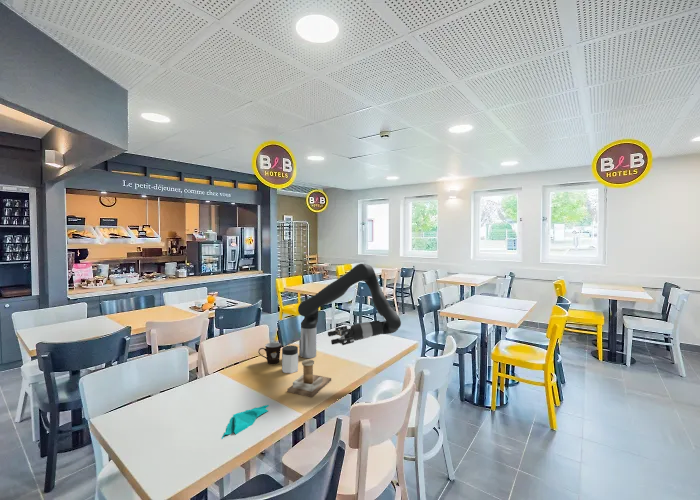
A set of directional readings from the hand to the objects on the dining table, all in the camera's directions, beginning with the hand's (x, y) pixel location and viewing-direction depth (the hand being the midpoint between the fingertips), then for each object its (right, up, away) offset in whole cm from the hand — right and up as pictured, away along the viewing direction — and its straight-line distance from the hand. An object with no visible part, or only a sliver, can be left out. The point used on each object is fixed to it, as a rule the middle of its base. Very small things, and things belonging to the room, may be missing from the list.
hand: (329, 338), depth 163 cm
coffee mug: (-35, -21, +26) cm, 48 cm away
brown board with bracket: (-9, -22, -3) cm, 24 cm away
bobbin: (-10, -21, -5) cm, 23 cm away
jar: (-22, -21, +16) cm, 34 cm away
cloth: (-30, -24, -33) cm, 51 cm away
